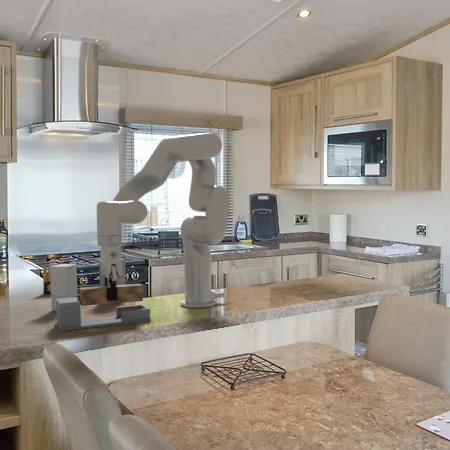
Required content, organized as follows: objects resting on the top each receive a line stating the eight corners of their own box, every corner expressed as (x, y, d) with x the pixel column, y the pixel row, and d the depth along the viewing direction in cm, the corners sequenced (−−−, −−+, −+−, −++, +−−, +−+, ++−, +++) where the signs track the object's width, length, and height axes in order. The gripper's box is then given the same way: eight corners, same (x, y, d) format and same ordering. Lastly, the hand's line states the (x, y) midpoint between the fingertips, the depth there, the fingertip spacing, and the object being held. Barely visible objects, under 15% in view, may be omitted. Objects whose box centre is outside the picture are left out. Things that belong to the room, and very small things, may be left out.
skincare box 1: (67, 311, 191) (66, 266, 190) (50, 311, 193) (48, 266, 191) (78, 306, 199) (77, 263, 198) (61, 306, 201) (60, 263, 200)
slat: (139, 299, 181) (139, 283, 180) (142, 300, 177) (142, 285, 177) (79, 303, 173) (79, 287, 173) (81, 305, 170) (81, 289, 169)
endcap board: (143, 315, 184) (142, 290, 184) (151, 321, 176) (150, 295, 176) (55, 325, 173) (54, 298, 172) (59, 331, 165) (57, 304, 164)
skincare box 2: (111, 298, 212) (110, 257, 211) (127, 300, 209) (126, 258, 208) (98, 303, 204) (97, 260, 203) (115, 304, 202) (113, 261, 201)
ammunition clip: (43, 294, 223) (42, 264, 222) (43, 294, 224) (42, 264, 223) (71, 292, 226) (70, 263, 226) (70, 291, 228) (69, 262, 227)
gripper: (128, 242, 168) (129, 303, 169) (115, 238, 183) (116, 293, 184) (103, 243, 165) (104, 305, 166) (92, 239, 180) (93, 295, 181)
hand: (110, 298), depth 175 cm, fingers closed on slat, 3 cm apart
